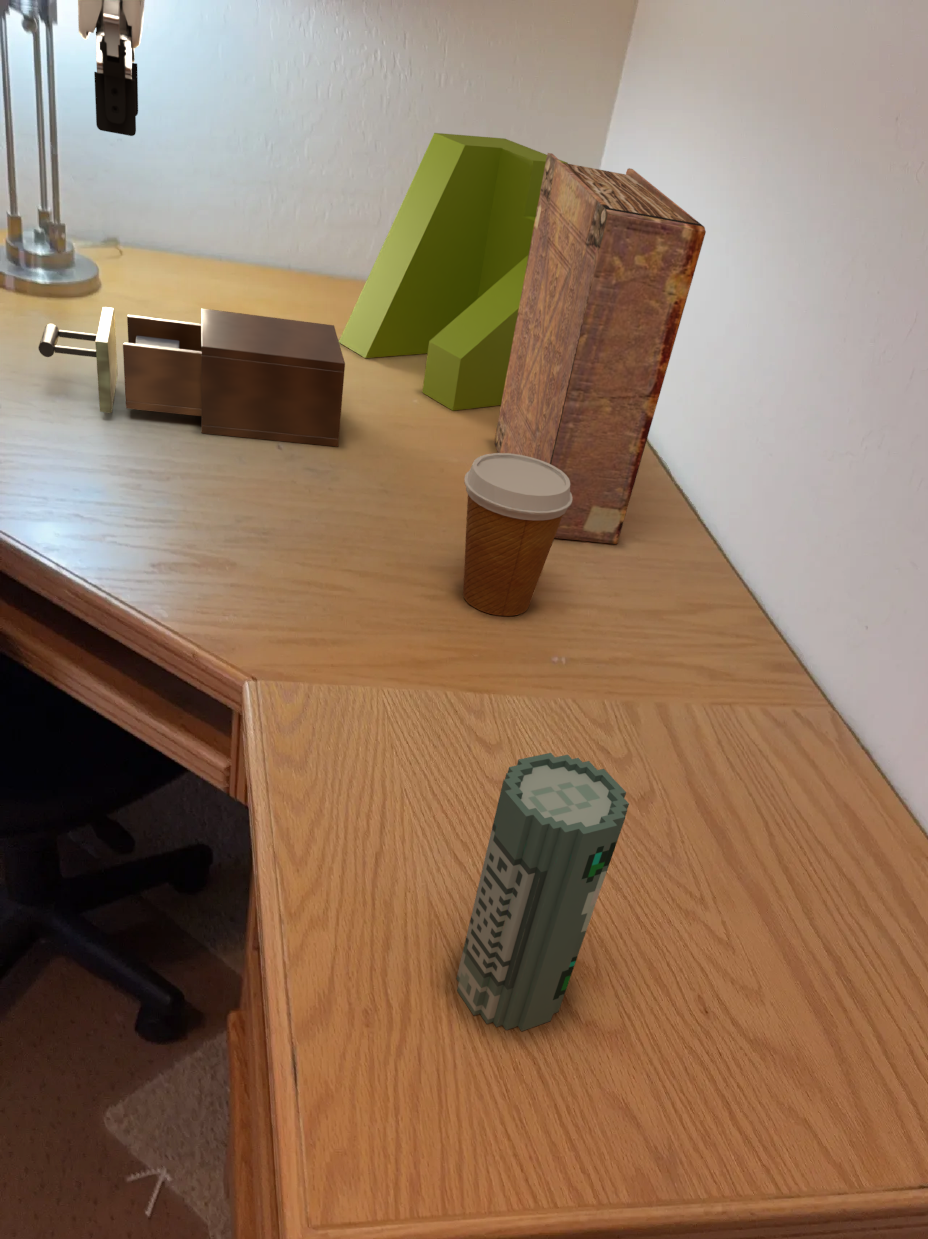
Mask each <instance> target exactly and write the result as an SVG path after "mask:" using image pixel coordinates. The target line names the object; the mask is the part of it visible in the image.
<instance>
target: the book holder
mask: <svg viewBox="0 0 928 1239" xmlns="http://www.w3.org/2000/svg"><path fill="white" fill-rule="evenodd" d="M423 154H424V155H423V157H422V159H421V161H420V163H419V166H418V168H417V169H416V172H415V174H414V176H413V178H412V181H411V183H410V185H409V187H408V189H407V192H406V194H405V195H404V198H403V200H402V202H401V205H400V207H399V209H398V210H397V213H396V215H395V217H394V219H393V222H392V224H391V227H390V229H389V230H388V233H387V235H386V237H385V240H384V242H383V243H382V246H381V248H380V250H379V252H378V254H377V257H376V260H375V261H374V263H373V266H372V268H371V270H370V271H369V274H368V276H367V278H366V281H365V283H364V285H363V288H362V290H361V291H360V294H359V296H358V298H357V300H356V303H355V305H354V307H353V309H352V311H351V314H350V316H349V318H348V320H347V322H346V324H345V326H344V329H343V330H342V333H341V335H340V337H339V339H338V341H339V344H341V345H343V346H344V347H345V348H348V349H349V350H351V351H353V352H354V353H355V354H357V355H359V356H360V357H362V358H364V359H371V358H372V359H373V358H384V357H398V356H399V357H400V356H411V355H425V354H426V362H425V370H424V377H423V385H422V394H424V395H425V396H427V397H429V398H431V399H432V400H433V401H436V402H438V403H439V404H441V405H442V406H444V407H446V408H447V409H449V410H451V411H453V412H454V411H462V410H471V409H478V408H486V407H487V408H488V407H496V406H501V402H502V397H503V392H504V386H505V381H506V375H507V370H508V364H509V359H510V353H511V348H512V343H513V337H514V332H515V326H516V321H517V315H518V310H519V305H520V299H521V294H522V288H523V283H524V277H525V272H526V266H527V261H528V256H529V250H530V245H531V239H532V234H533V228H534V223H535V218H536V212H537V207H538V201H539V196H540V190H541V185H542V179H543V174H544V169H545V163H546V158H547V153H543V152H541V151H538V150H536V149H533V148H531V147H528V146H525V145H523V144H520V143H518V142H515V141H513V140H510V139H507V138H503V137H491V136H479V135H466V134H453V133H443V132H434V133H433V135H432V136H431V139H430V141H429V144H428V146H427V148H426V150H425V153H423ZM559 160H560V161H561V162H562V163H567V164H569V163H568V162H567V161H564V160H562V159H559Z"/></svg>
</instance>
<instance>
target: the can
mask: <svg viewBox="0 0 928 1239" xmlns="http://www.w3.org/2000/svg"><path fill="white" fill-rule="evenodd" d="M626 794H627V791H626V790H625V789H624V788H623V787H622V786H621V785H620V784H619V783H618V782H617V781H616V779H614V777H612V775H611V774H610V773H609V772H608V771H607V770H606V769H605V768H601V769H600V768H599V769H597V768H596V767H595V765H594V764H593V763H591V761H590V760H586V761H583V760H581V759H580V757H575V758H572V757H571V756H570V755H569V754H564V755H559V756H555V755H554V754H553V753H552V752H547V753H542V754H538V755H534V756H528V757H523V758H519V759H518V760H517V763H516V765H512V766H508V770H507V772H506V773H505V777H504V779H503V781H502V785H501V789H500V793H499V798H498V802H497V806H496V810H495V815H494V819H493V822H492V826H491V830H490V836H489V839H488V844H487V848H486V851H485V852H486V853H485V856H484V860H483V864H482V869H481V873H480V877H479V882H478V886H477V890H476V893H475V898H474V903H473V907H472V911H471V915H470V918H469V919H470V920H469V925H468V928H467V931H466V932H467V933H466V937H465V941H464V944H463V949H462V952H461V953H462V954H461V958H460V962H459V965H458V970H457V974H456V978H455V979H456V981H457V982H458V984H457V988H456V991H457V993H458V995H459V996H460V998H461V999H462V1001H463V1002H464V1004H465V1005H466V1006H467V1008H468V1010H469V1011H470V1012H471V1014H472V1015H473V1016H474V1017H475V1016H477V1015H480V1016H481V1018H482V1019H483V1022H485V1024H486V1025H488V1024H491V1023H492V1024H494V1026H495V1027H496V1028H498V1027H501V1026H502V1027H503V1029H504V1030H505V1031H508V1030H511V1029H514V1028H516V1027H518V1029H519V1030H520V1031H521V1032H524V1031H527V1030H530V1029H533V1028H536V1027H538V1026H540V1025H544V1024H546V1023H549V1022H551V1021H552V1019H553V1016H554V1014H557V1013H559V1012H560V1009H561V1006H562V1003H563V1001H564V998H565V995H566V992H567V990H568V986H569V982H570V980H571V977H572V974H573V971H574V968H575V965H576V963H577V960H578V957H579V953H580V951H581V948H582V944H583V943H584V938H585V936H586V934H587V930H588V927H589V925H590V922H591V919H592V916H593V913H594V910H595V907H596V904H597V901H598V898H599V895H600V893H601V889H602V887H603V884H604V881H605V878H606V875H607V872H608V870H609V866H610V863H611V860H612V858H613V855H614V852H615V849H616V846H617V843H618V840H619V837H620V835H621V832H622V828H623V827H624V823H625V820H626V817H627V816H626V815H627V812H628V808H629V805H630V802H628V800H627V799H626V798H625V797H626Z"/></svg>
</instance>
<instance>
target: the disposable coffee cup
mask: <svg viewBox="0 0 928 1239" xmlns="http://www.w3.org/2000/svg"><path fill="white" fill-rule="evenodd" d="M464 486H465V491H466V493H467V503H466V523H465V542H464V544H465V546H464V547H465V548H464V566H463V567H464V568H463V585H462V586H463V587H462V588H463V589H462V596H463V599H464V600H465V602H467V603H468V604H469V605H470V606H471V607H473V608H475V609H477V610H479V611H481V612H482V613H486V614H489V615H494V616H499V617H500V616H502V617H512V616H518V615H521V614H524V613H525V612H526V611H527V610H528V609H529V607H530V605H531V601H532V600H533V597H534V593H535V590H536V588H537V586H538V583H539V580H540V578H541V575H542V572H543V571H544V570H543V569H544V567H545V564H546V562H547V558H548V556H549V554H550V551H551V549H552V546H553V543H554V540H555V538H554V537H555V535H556V532H557V529H558V527H559V524H560V521H561V518H562V516H563V514H565V512H566V510H567V508H569V507H570V505H571V503H572V500H573V497H572V494H571V492H570V480H569V478H568V477H567V475H566V474H565V473H564V472H562V471H561V470H559V469H558V468H556V467H555V466H553V465H551V464H549V463H546V462H544V461H541V460H538V459H535V458H532V457H528V456H524V455H518V454H511V453H498V452H493V453H485V454H483V455H480V456H477V457H476V458H475V459H474V460H473V462H472V464H471V467H470V469H469V470H468V471H467V472H465V475H464Z"/></svg>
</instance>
